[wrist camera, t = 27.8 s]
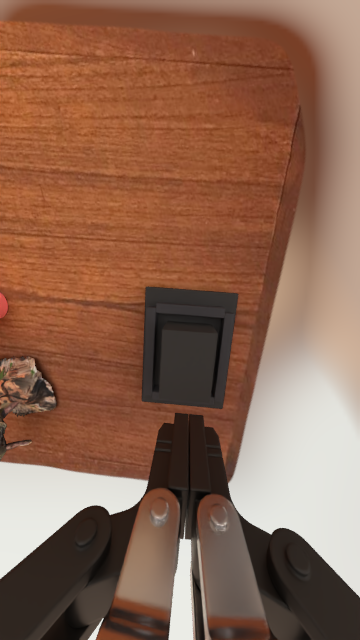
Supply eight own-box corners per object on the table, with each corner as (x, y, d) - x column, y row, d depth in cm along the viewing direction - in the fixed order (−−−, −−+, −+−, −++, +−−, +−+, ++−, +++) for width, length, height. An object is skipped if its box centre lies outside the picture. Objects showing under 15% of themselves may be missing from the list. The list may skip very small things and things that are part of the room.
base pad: (147, 286, 20) (141, 286, 18) (235, 293, 20) (242, 294, 17) (143, 395, 23) (138, 410, 20) (220, 402, 23) (225, 418, 20)
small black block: (167, 320, 20) (162, 329, 16) (212, 323, 20) (218, 333, 16) (163, 377, 21) (158, 398, 17) (205, 381, 21) (209, 403, 17)
